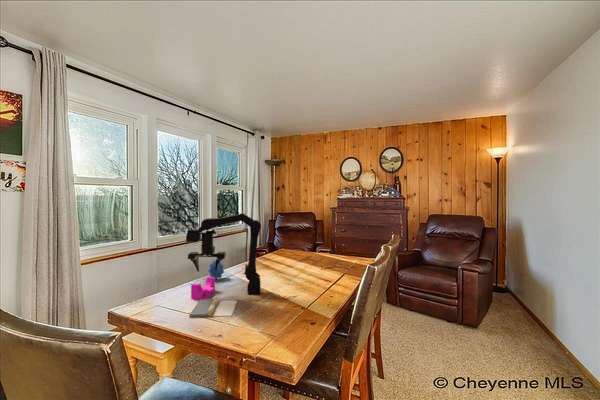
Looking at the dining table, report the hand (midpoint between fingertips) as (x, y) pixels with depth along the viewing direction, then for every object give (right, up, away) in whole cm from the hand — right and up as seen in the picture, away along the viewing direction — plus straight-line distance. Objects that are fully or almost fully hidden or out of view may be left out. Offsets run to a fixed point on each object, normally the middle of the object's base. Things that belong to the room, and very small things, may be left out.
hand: (207, 271), depth 150 cm
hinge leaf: (+5, -13, -18) cm, 23 cm away
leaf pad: (+14, -13, -18) cm, 26 cm away
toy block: (-1, -13, 0) cm, 13 cm away
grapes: (-3, -12, +27) cm, 30 cm away
